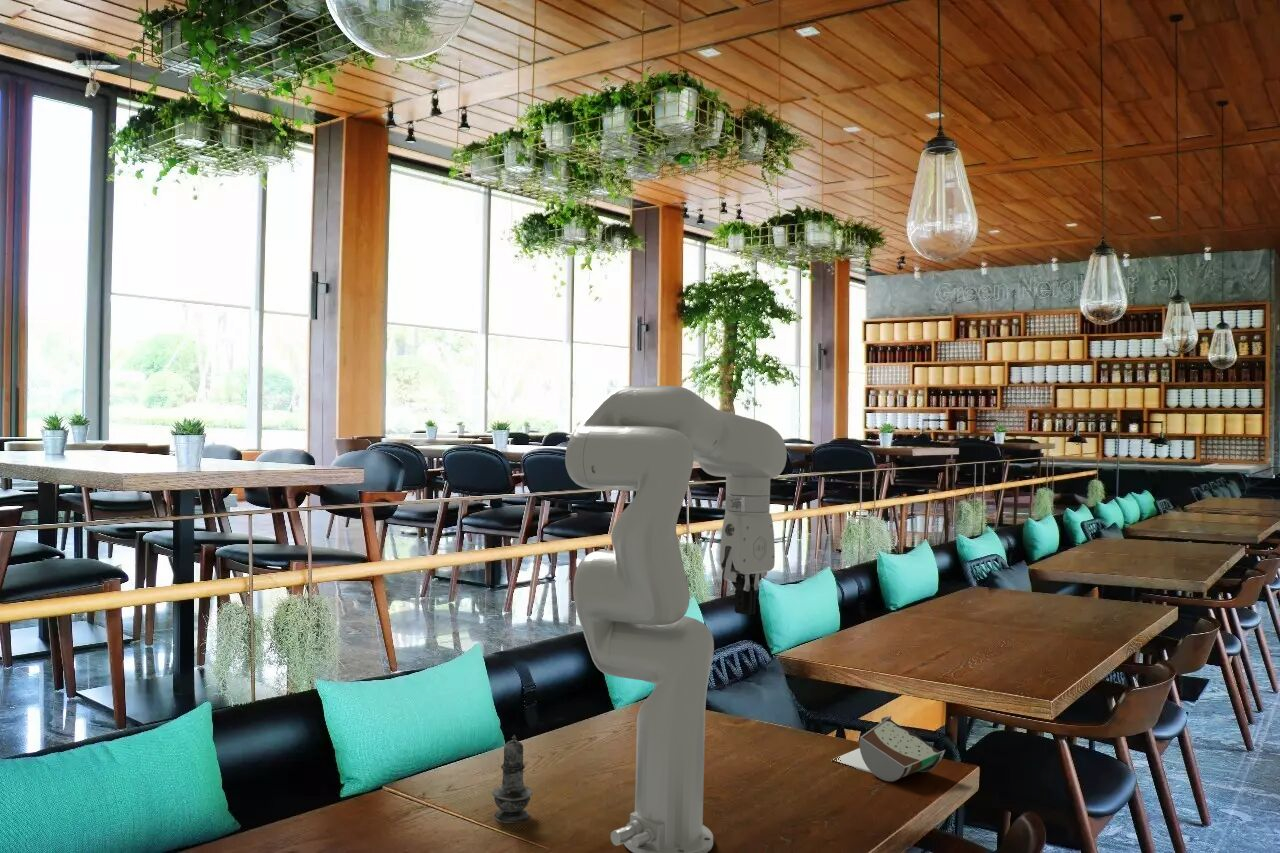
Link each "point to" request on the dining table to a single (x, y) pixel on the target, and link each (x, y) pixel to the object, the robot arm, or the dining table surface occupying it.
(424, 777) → the dining table surface
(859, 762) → the mat
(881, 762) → the food container
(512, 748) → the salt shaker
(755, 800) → the dining table surface
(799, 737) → the dining table surface
